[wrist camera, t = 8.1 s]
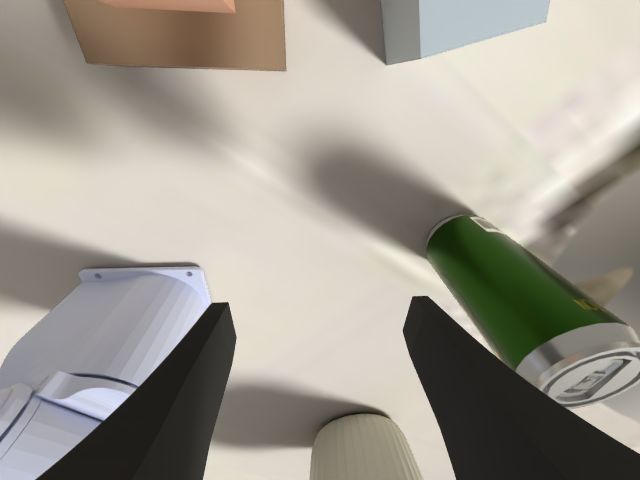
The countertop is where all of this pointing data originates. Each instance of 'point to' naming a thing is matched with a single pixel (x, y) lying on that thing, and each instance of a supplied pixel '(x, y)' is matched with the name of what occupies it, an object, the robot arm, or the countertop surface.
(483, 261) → the beer can
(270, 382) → the countertop surface
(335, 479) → the canister
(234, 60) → the walnut slab
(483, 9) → the slate cube
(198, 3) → the terracotta cube
